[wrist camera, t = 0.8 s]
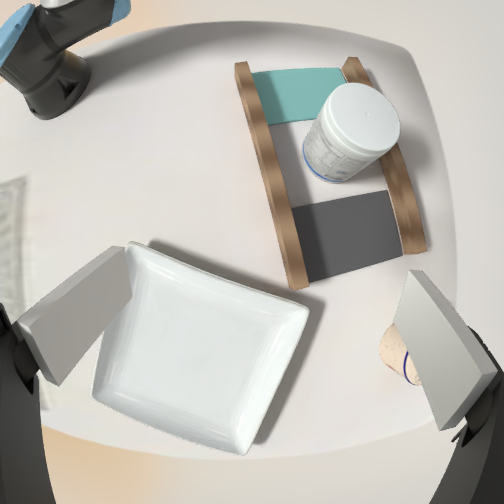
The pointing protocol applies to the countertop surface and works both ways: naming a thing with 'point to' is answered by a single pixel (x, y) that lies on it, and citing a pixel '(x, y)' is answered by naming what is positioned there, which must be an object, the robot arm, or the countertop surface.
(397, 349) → the teacup with lid
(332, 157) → the supplement tub
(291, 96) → the pad
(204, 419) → the square plate
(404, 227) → the channel rails
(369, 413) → the countertop surface
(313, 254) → the trap mat
